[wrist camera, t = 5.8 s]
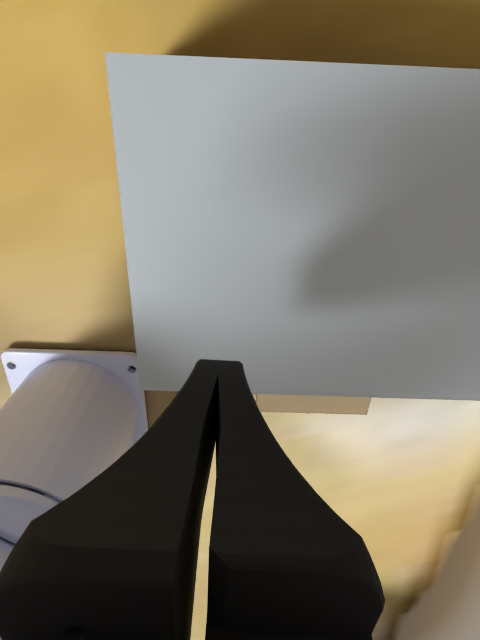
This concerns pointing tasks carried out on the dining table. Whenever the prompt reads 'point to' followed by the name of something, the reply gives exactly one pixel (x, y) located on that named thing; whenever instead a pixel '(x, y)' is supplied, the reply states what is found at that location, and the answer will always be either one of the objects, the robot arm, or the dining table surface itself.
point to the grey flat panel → (302, 225)
